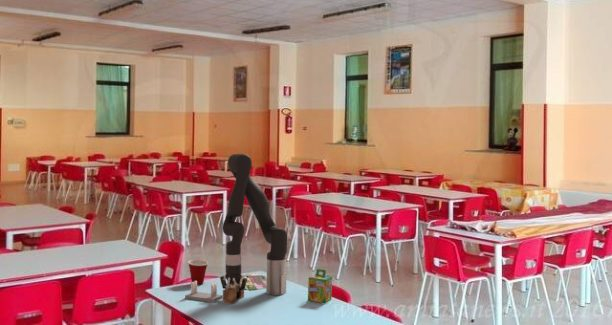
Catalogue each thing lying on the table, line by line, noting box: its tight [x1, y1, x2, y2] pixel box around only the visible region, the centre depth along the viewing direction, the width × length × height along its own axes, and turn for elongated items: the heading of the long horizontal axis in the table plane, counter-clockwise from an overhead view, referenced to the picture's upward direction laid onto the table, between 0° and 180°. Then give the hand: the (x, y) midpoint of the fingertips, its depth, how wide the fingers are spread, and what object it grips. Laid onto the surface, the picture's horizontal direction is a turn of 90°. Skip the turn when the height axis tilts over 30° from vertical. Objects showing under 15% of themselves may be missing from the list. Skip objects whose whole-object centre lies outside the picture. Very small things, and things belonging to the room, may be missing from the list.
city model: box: [240, 272, 267, 291], centre depth 318 cm, size 25×23×6 cm
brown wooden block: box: [222, 284, 245, 305], centre depth 289 cm, size 4×13×6 cm, turn 158°
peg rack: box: [184, 281, 223, 303], centre depth 290 cm, size 16×8×8 cm, turn 68°
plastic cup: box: [187, 259, 209, 286], centre depth 317 cm, size 11×11×12 cm
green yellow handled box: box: [307, 268, 333, 304], centre depth 291 cm, size 9×9×15 cm
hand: (233, 298), depth 289 cm, fingers closed on brown wooden block, 4 cm apart
